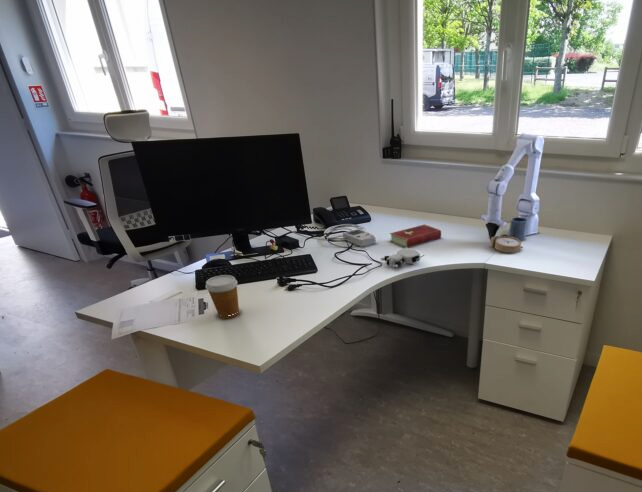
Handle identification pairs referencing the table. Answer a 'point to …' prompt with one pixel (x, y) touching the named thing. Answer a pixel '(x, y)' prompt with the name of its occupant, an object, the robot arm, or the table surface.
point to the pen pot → (518, 228)
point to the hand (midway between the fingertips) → (491, 239)
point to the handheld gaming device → (359, 237)
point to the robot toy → (402, 257)
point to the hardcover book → (415, 236)
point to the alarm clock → (506, 243)
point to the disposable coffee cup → (224, 295)
